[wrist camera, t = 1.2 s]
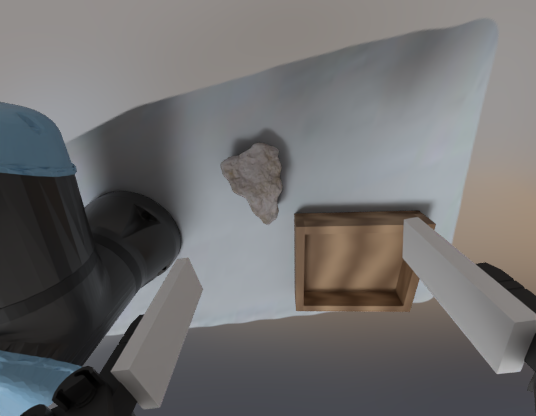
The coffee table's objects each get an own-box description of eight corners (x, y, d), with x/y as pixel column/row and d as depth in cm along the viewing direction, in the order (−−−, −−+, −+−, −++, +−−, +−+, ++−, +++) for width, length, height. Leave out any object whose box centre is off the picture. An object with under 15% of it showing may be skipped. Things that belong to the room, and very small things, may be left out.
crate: (294, 292, 41) (296, 311, 38) (294, 213, 34) (295, 227, 31) (398, 292, 40) (409, 311, 36) (419, 210, 33) (435, 224, 30)
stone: (300, 196, 33) (304, 214, 28) (252, 216, 35) (246, 236, 30) (272, 132, 30) (270, 139, 25) (219, 158, 32) (207, 170, 26)
